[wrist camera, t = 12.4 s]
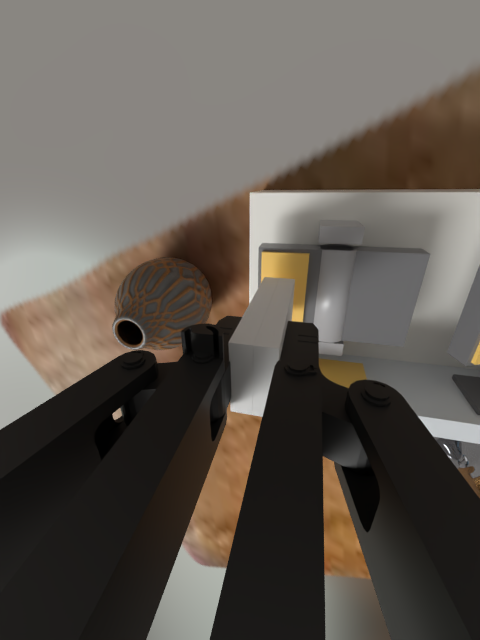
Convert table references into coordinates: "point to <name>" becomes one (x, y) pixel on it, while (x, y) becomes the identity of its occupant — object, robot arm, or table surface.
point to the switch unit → (433, 300)
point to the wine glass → (463, 459)
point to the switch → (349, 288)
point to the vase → (160, 304)
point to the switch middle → (468, 329)
